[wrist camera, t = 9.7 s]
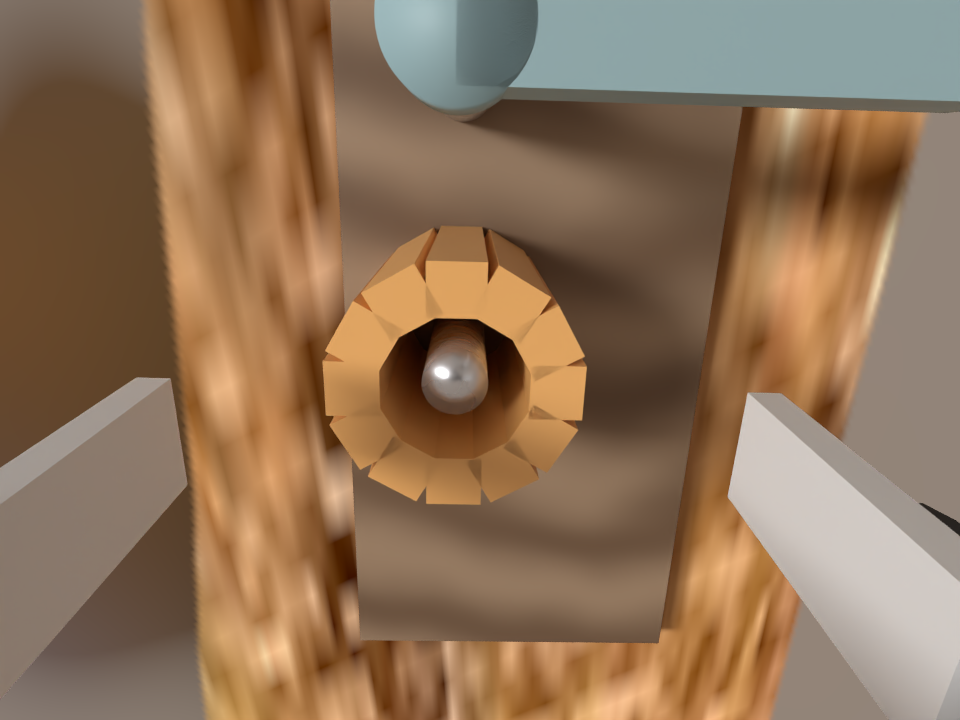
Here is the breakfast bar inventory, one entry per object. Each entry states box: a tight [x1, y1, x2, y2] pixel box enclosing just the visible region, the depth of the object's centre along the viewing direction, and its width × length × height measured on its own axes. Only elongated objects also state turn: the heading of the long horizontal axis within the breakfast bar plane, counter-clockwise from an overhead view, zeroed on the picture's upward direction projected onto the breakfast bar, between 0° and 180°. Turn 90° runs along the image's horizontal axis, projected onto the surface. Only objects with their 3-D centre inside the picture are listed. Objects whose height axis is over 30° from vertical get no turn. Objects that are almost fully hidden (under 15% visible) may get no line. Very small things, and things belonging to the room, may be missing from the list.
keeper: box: [374, 0, 960, 116], centre depth 13 cm, size 14×3×2 cm, turn 88°
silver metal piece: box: [422, 109, 488, 415], centre depth 20 cm, size 11×2×9 cm, turn 178°
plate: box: [330, 0, 743, 643], centre depth 27 cm, size 30×16×2 cm, turn 178°
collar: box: [323, 226, 587, 505], centre depth 22 cm, size 8×8×9 cm
